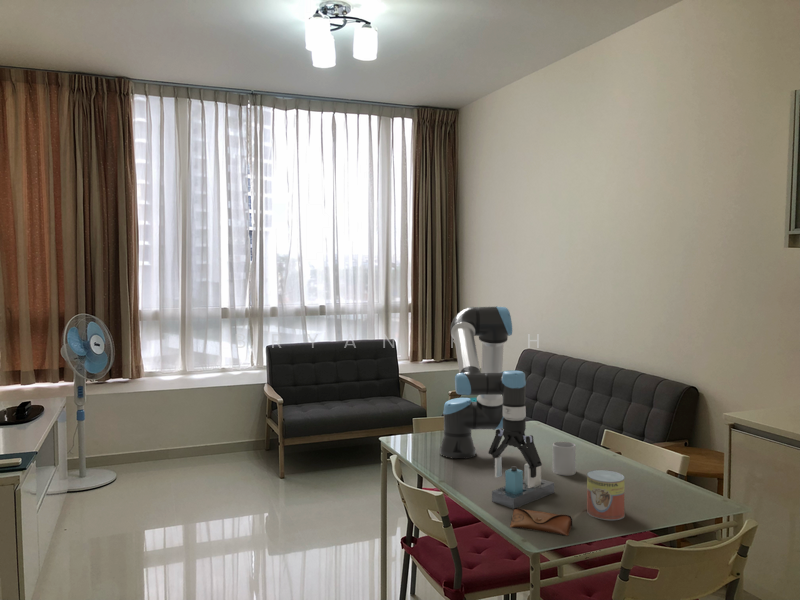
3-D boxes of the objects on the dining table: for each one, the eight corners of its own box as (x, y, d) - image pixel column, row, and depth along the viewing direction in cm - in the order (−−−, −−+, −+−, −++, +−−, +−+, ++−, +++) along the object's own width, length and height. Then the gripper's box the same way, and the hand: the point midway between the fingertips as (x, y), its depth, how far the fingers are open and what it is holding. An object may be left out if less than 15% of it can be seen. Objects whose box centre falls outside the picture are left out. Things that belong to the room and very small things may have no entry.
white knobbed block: (524, 493, 204) (524, 460, 203) (531, 490, 206) (531, 458, 206) (534, 496, 201) (533, 463, 200) (541, 493, 203) (541, 461, 203)
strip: (513, 510, 190) (513, 498, 190) (492, 502, 197) (491, 491, 196) (554, 494, 204) (554, 482, 204) (532, 487, 211) (532, 476, 211)
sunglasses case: (507, 527, 177) (509, 504, 180) (511, 531, 183) (513, 508, 186) (570, 536, 170) (571, 512, 173) (572, 540, 176) (573, 516, 179)
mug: (579, 475, 223) (579, 446, 223) (558, 477, 222) (558, 448, 221) (565, 465, 235) (565, 438, 235) (545, 467, 234) (544, 439, 233)
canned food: (582, 515, 186) (582, 477, 185) (592, 503, 195) (592, 467, 195) (619, 523, 179) (619, 484, 179) (628, 511, 189) (628, 473, 188)
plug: (505, 500, 197) (505, 466, 197) (513, 497, 200) (513, 464, 200) (515, 503, 194) (515, 469, 194) (522, 500, 197) (522, 467, 197)
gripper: (478, 413, 203) (478, 474, 204) (538, 426, 184) (538, 494, 185) (492, 410, 208) (492, 470, 209) (552, 422, 189) (552, 488, 190)
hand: (514, 481), depth 197 cm, fingers open, 13 cm apart
